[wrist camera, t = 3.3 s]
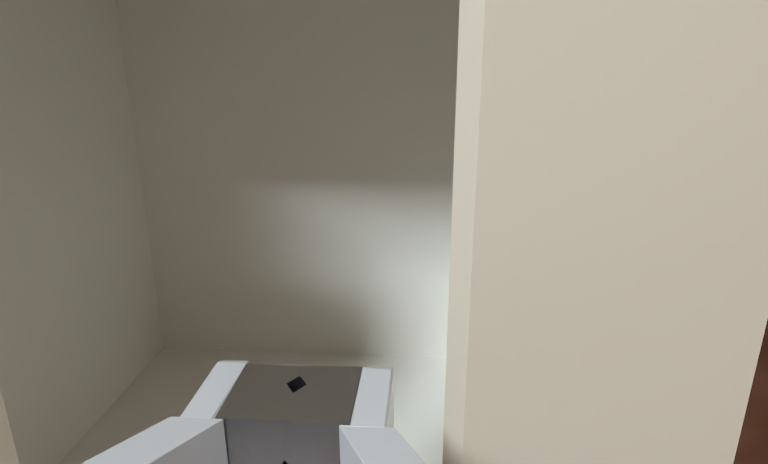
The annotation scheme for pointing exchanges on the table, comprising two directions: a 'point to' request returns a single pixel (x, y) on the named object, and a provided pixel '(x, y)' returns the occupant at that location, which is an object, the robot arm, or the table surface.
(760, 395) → the table surface
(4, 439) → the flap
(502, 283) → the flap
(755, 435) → the table surface
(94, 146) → the carton
